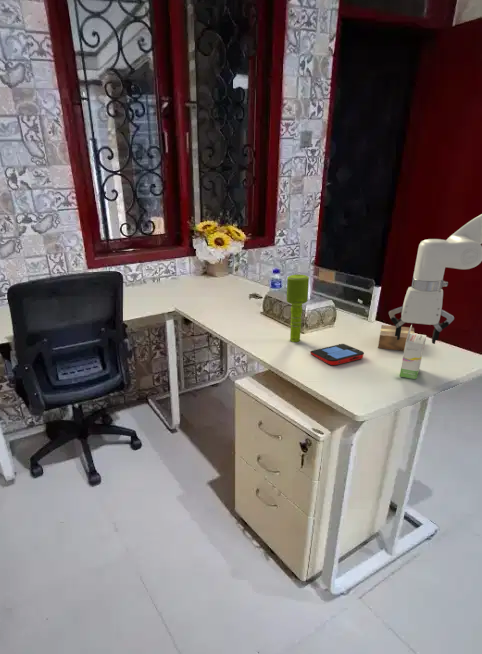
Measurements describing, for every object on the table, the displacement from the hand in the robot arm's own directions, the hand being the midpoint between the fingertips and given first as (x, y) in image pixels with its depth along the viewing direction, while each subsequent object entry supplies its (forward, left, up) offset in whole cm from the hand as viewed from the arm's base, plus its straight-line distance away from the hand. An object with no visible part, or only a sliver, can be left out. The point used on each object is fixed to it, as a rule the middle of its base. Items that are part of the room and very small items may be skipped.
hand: (415, 340), depth 126 cm
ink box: (0, 0, -11) cm, 11 cm away
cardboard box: (+5, -23, -11) cm, 26 cm away
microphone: (+40, -16, -11) cm, 44 cm away
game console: (+23, -6, -11) cm, 26 cm away
